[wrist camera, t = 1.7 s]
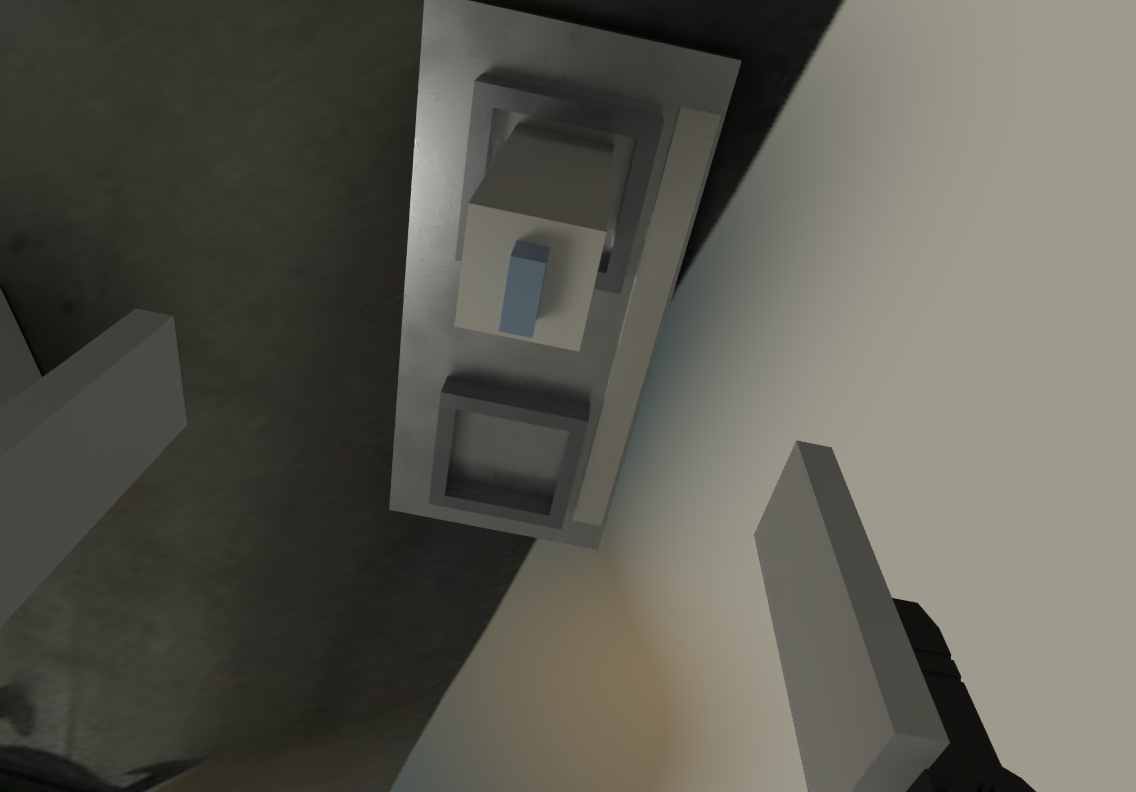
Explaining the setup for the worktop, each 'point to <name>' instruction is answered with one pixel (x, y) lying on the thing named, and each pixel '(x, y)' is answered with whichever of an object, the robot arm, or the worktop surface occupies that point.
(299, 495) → the worktop surface
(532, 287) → the plug
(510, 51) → the panel
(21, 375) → the milk carton
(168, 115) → the worktop surface
